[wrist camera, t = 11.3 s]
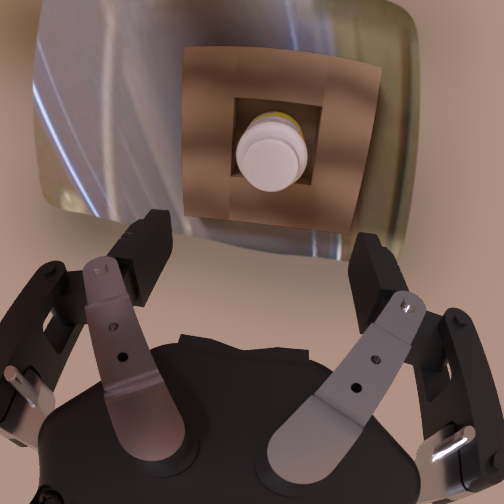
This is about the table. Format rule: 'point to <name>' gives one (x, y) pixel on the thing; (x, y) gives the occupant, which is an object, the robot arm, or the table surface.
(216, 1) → the table surface
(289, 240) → the table surface
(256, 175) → the supplement bottle
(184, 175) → the walnut socket block
